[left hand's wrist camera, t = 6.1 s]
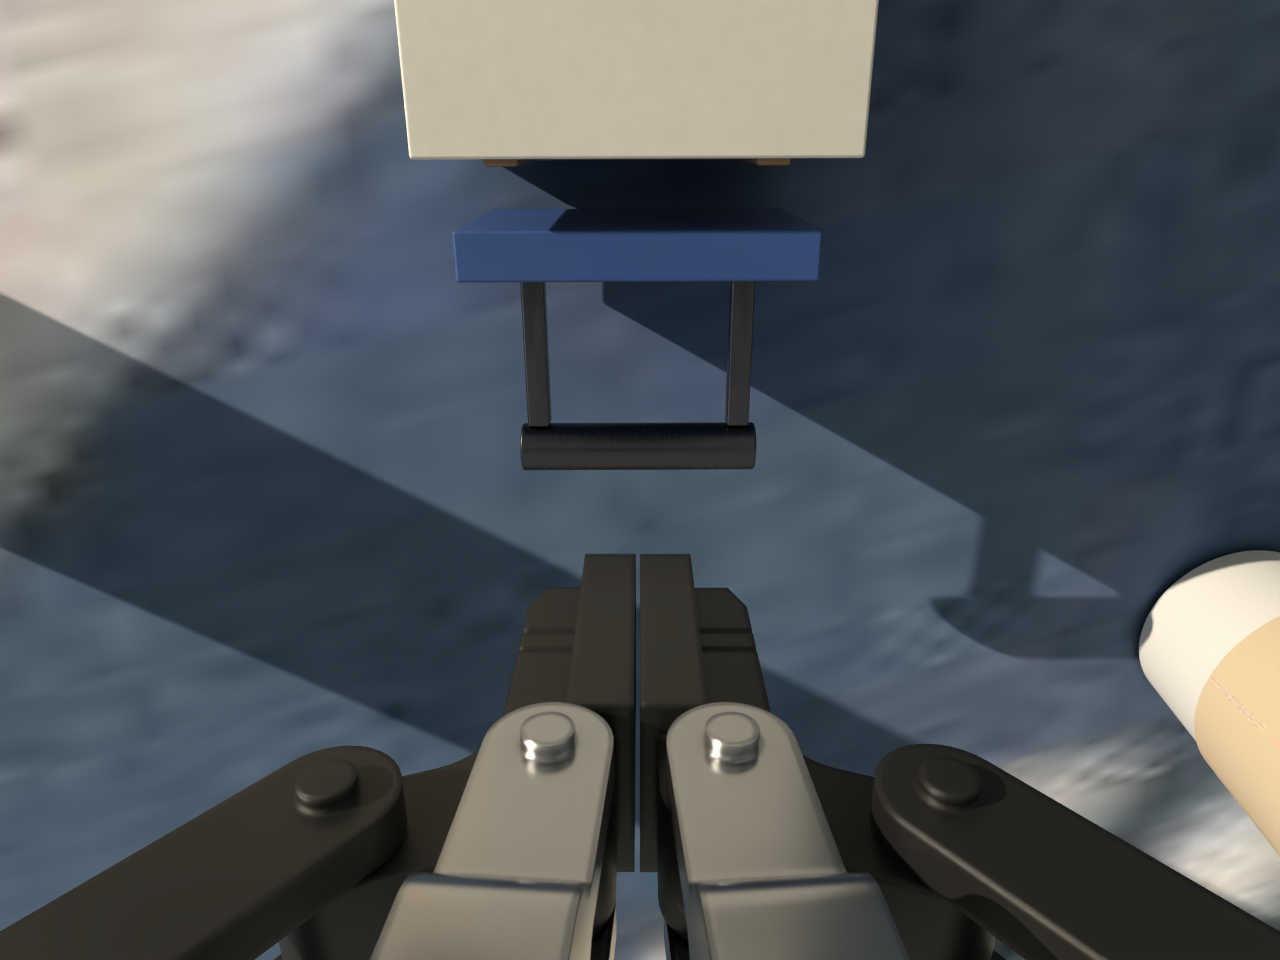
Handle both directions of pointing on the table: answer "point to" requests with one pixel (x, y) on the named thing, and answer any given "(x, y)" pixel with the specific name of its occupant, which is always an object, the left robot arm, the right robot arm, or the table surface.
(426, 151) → the cream box
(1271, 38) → the table surface
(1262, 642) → the coffee cup
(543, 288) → the drawer
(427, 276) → the table surface
